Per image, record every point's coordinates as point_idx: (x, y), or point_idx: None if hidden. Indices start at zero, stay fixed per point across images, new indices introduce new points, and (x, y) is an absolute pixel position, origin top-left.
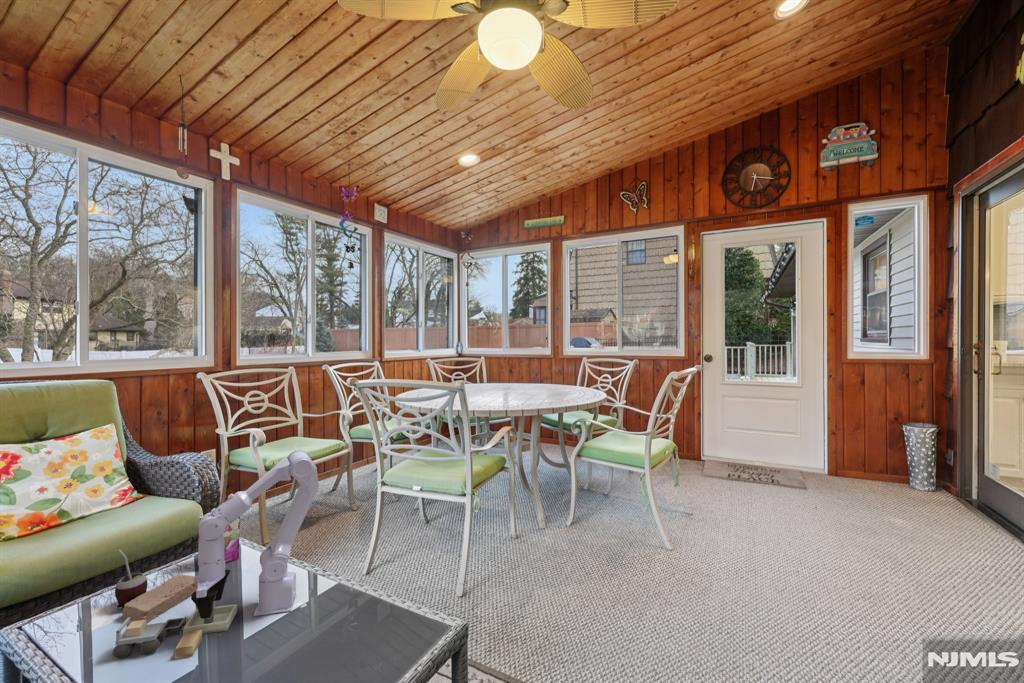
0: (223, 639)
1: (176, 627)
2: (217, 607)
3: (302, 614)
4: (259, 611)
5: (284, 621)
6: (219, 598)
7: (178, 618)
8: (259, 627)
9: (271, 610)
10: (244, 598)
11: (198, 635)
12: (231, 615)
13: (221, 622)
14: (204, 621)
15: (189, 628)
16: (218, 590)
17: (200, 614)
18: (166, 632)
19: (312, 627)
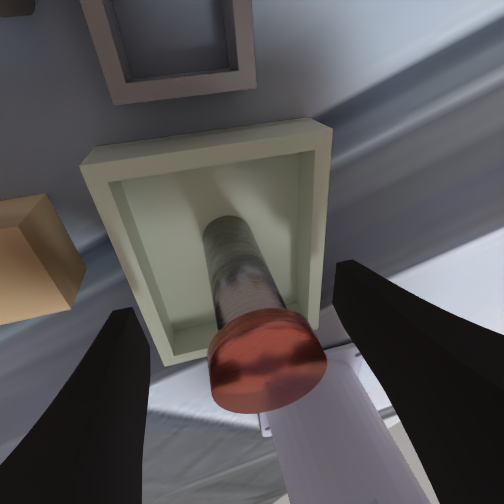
0: None
1: (108, 79)
2: (314, 259)
3: (242, 453)
4: None
5: (213, 439)
6: (339, 308)
7: (246, 16)
8: (184, 406)
9: None
10: (400, 278)
11: (7, 321)
12: None
13: (163, 346)
14: (207, 236)
15: (97, 206)
16: (377, 351)
17: (95, 344)
18: (4, 12)
19: (179, 488)
